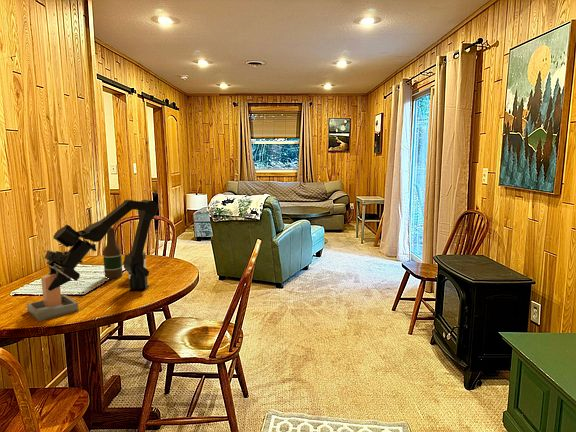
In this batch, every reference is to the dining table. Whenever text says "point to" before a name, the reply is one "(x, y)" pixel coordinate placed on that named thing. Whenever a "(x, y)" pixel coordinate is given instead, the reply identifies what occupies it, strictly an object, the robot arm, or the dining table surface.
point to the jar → (144, 261)
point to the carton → (50, 292)
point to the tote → (52, 308)
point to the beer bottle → (112, 257)
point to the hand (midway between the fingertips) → (46, 288)
